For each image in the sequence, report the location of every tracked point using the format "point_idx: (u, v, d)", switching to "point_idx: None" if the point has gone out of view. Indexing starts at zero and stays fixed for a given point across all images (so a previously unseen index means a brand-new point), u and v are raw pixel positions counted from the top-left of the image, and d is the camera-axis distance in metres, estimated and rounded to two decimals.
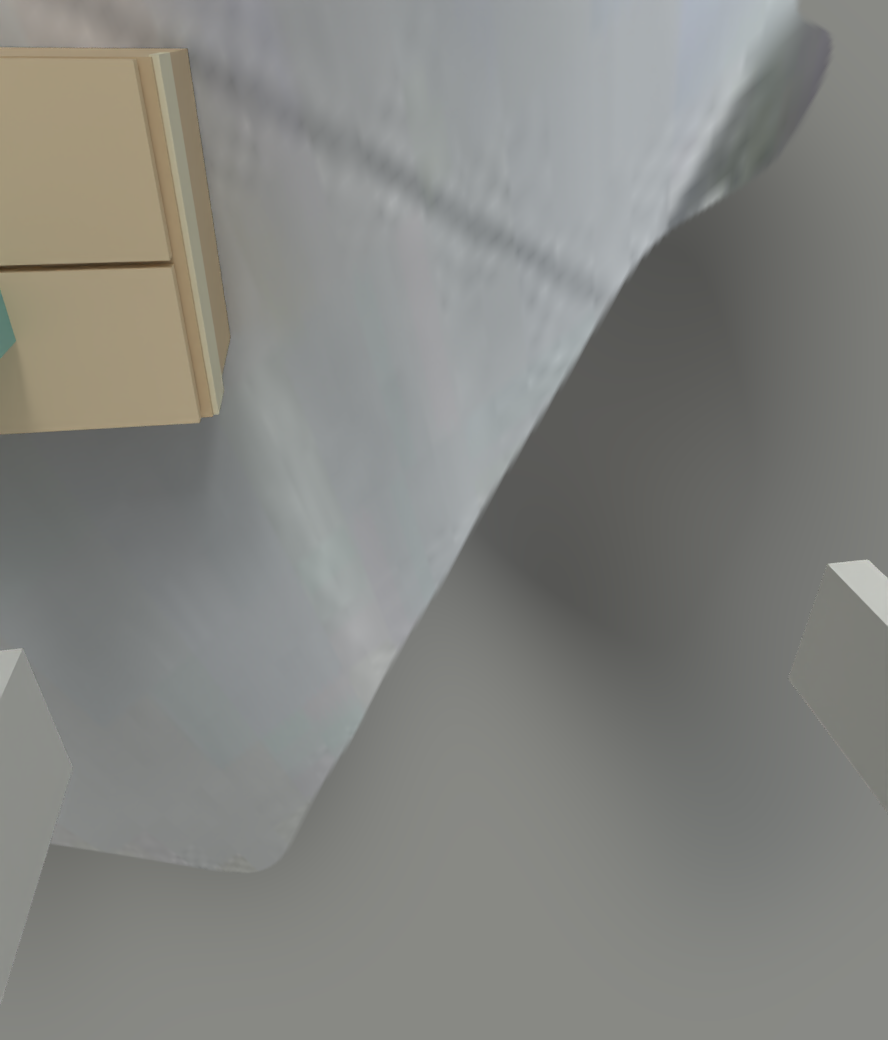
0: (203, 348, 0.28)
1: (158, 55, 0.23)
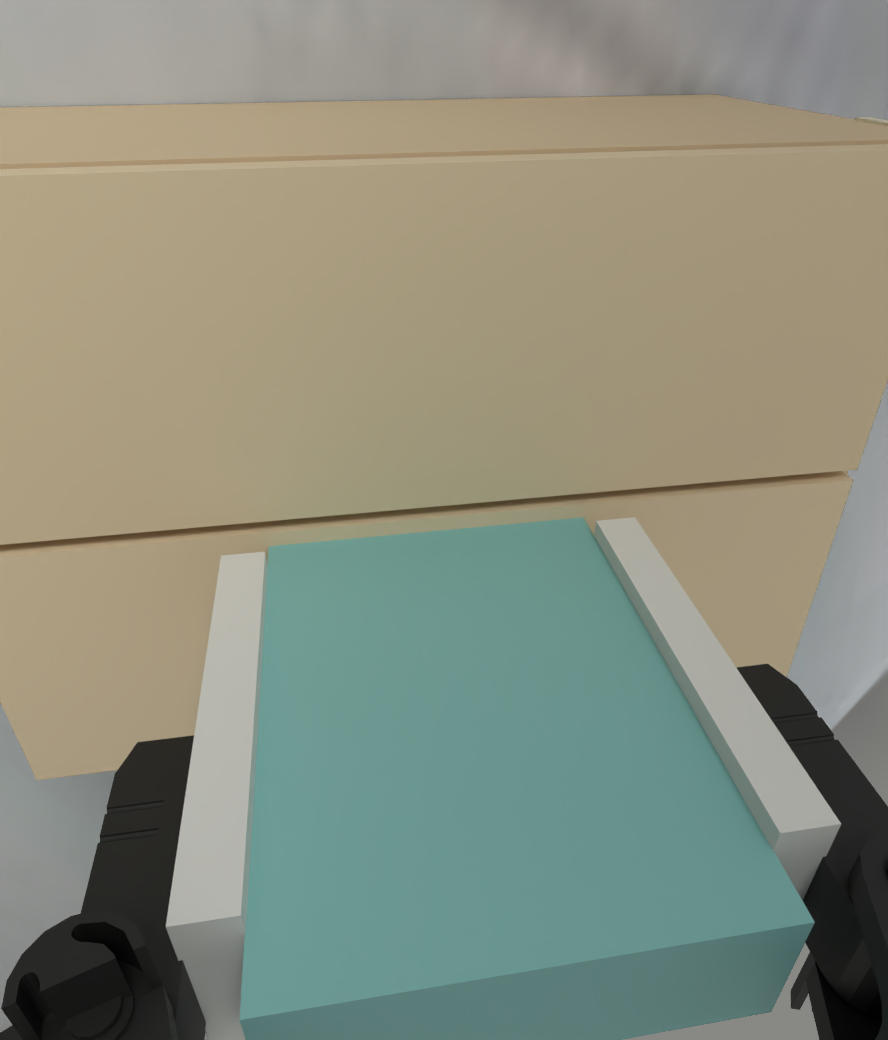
0: None
1: None
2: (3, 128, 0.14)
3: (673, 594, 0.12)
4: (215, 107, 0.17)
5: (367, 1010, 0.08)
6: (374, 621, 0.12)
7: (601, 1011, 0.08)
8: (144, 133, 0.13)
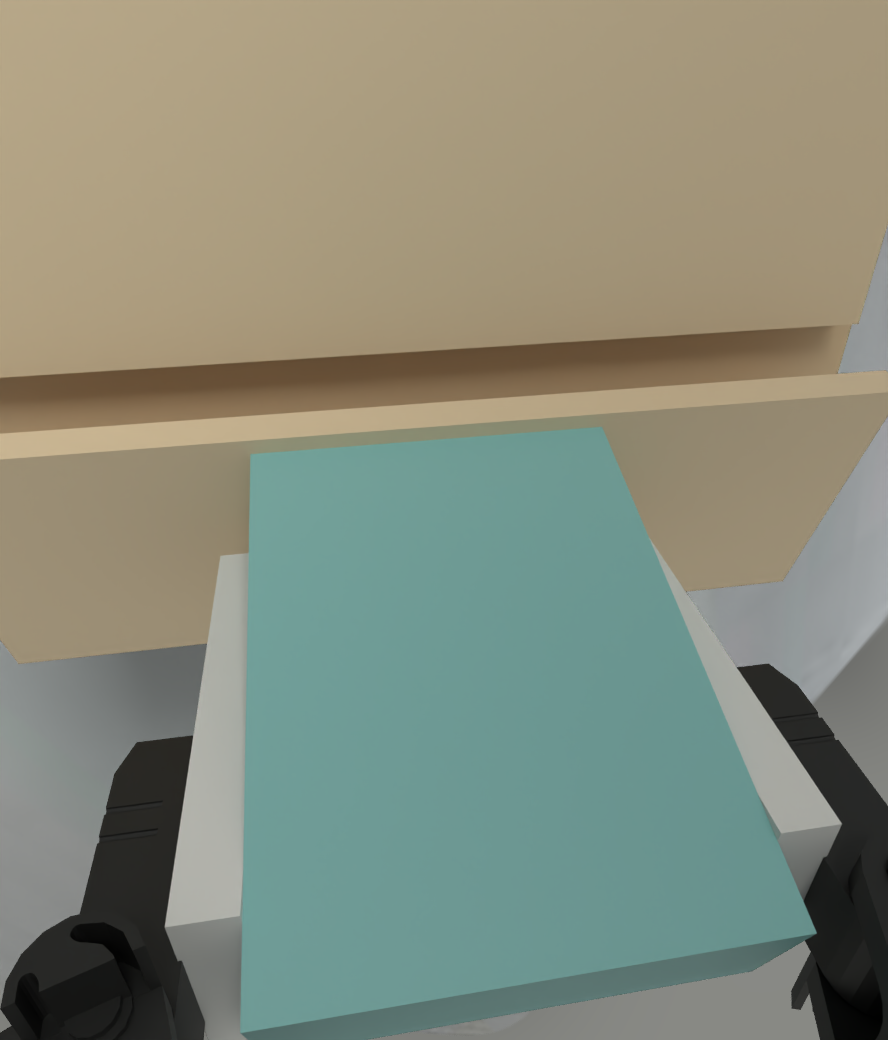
0: None
1: None
2: None
3: (674, 594, 0.12)
4: None
5: (368, 1014, 0.08)
6: (370, 558, 0.11)
7: (594, 989, 0.09)
8: None
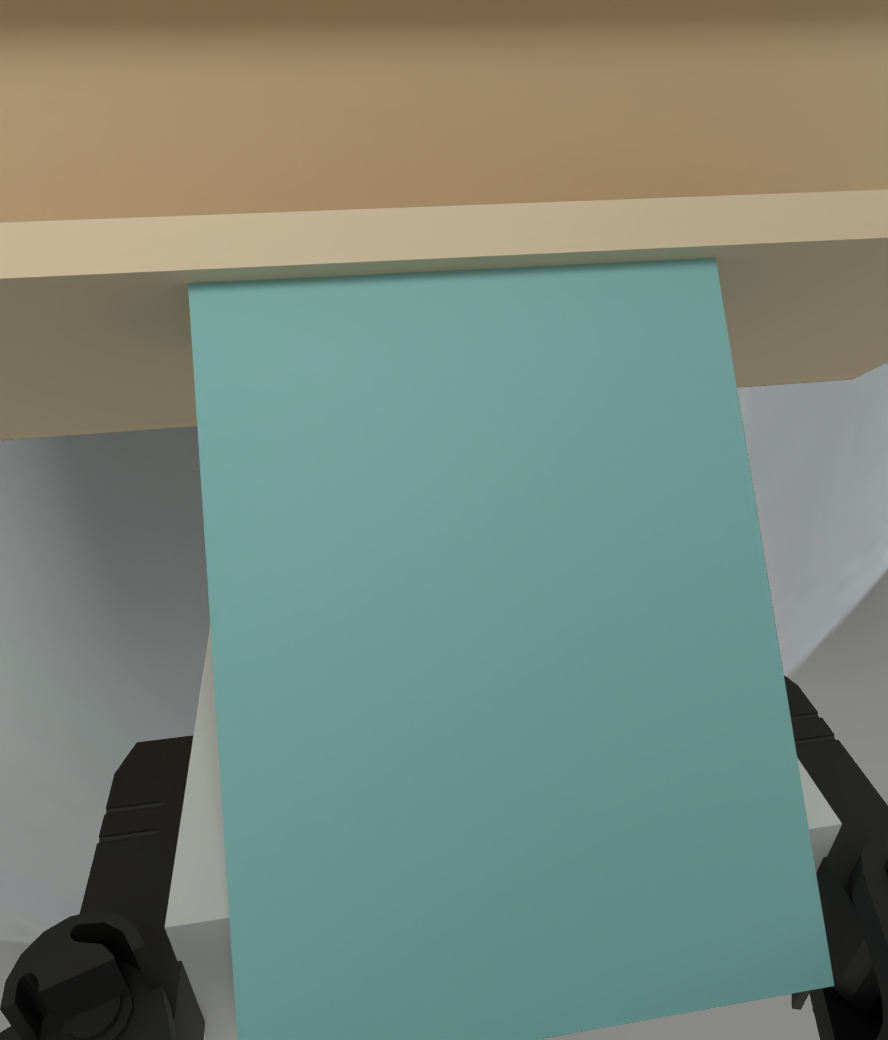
0: None
1: None
2: None
3: None
4: None
5: None
6: (372, 487, 0.08)
7: None
8: None
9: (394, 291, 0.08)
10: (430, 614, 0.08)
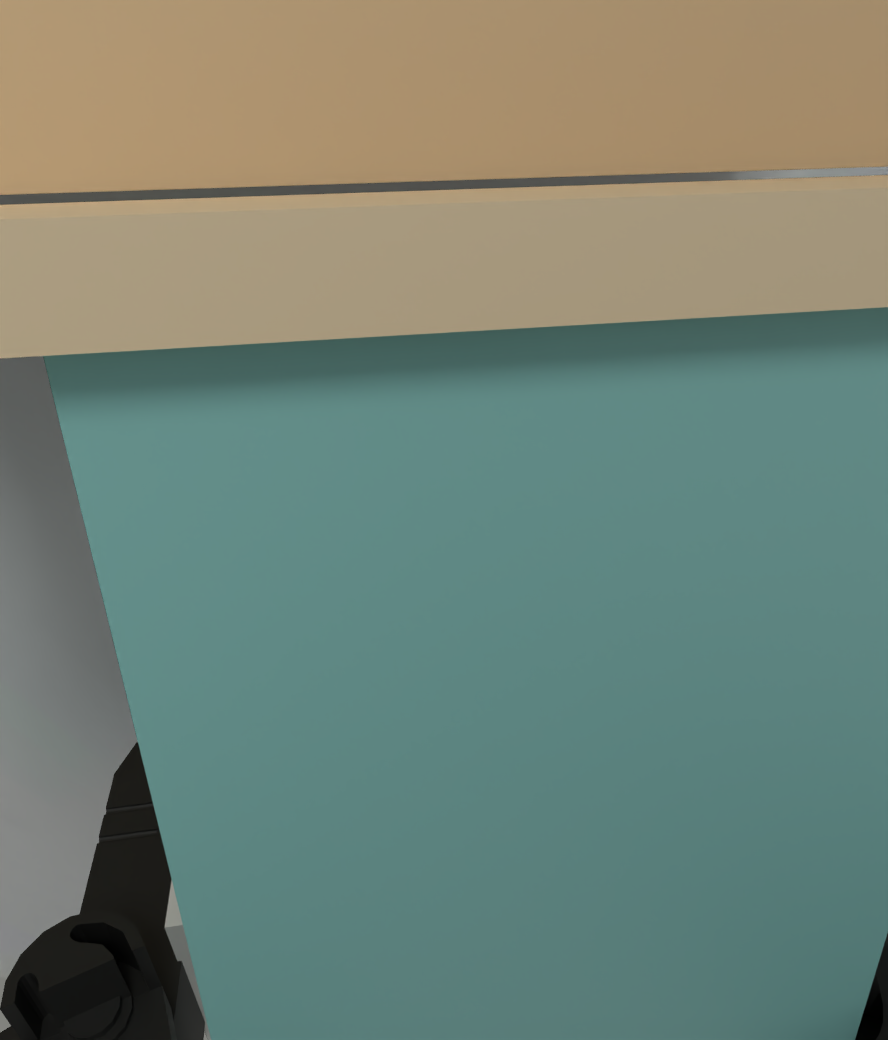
0: None
1: None
2: None
3: None
4: None
5: None
6: (407, 693, 0.05)
7: None
8: None
9: (468, 357, 0.04)
10: (480, 835, 0.06)
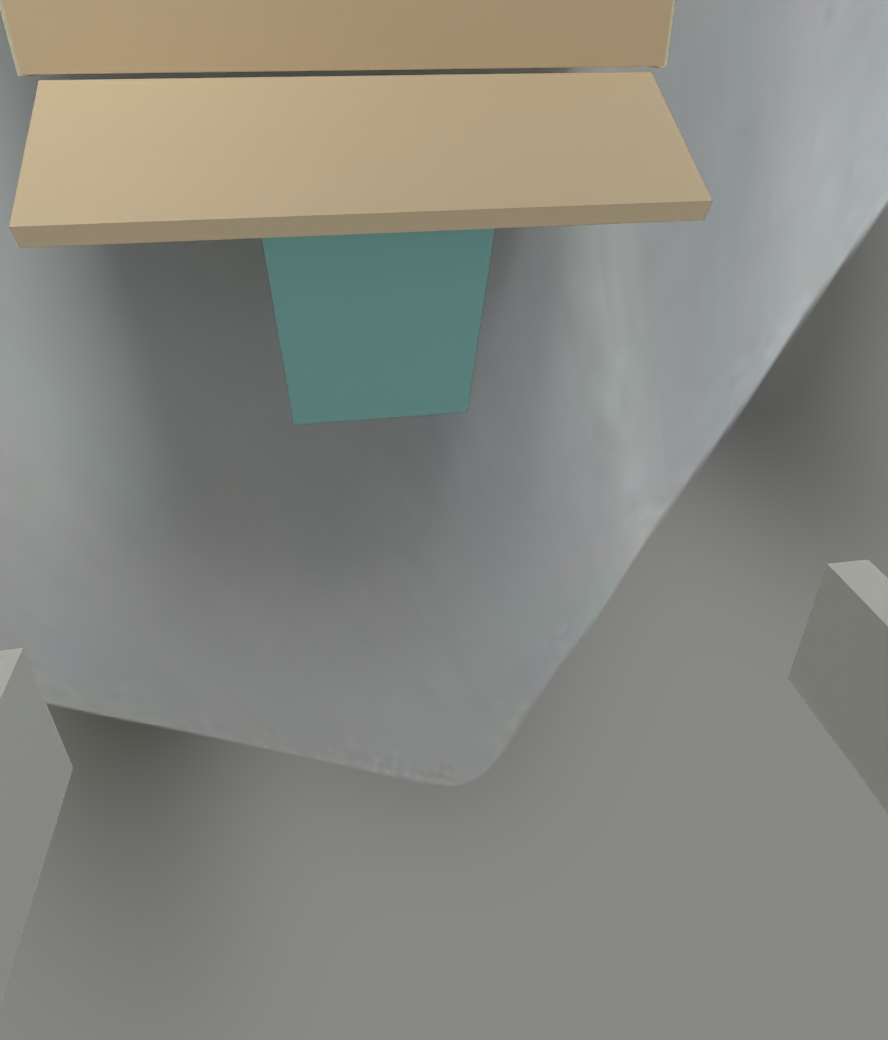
0: None
1: None
2: None
3: None
4: None
5: None
6: (336, 298, 0.21)
7: None
8: None
9: (349, 232, 0.19)
10: (355, 332, 0.22)
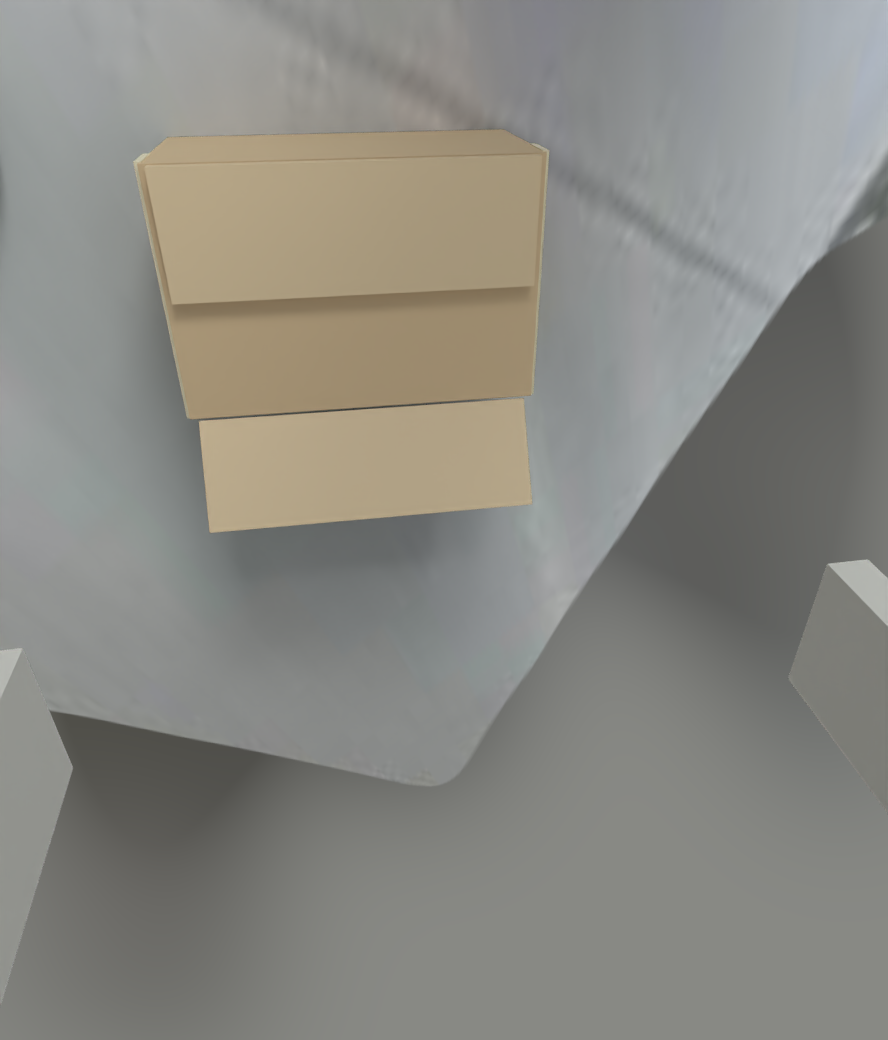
0: None
1: (548, 150, 0.35)
2: (192, 148, 0.36)
3: None
4: (270, 137, 0.39)
5: None
6: None
7: None
8: (249, 150, 0.35)
9: None
10: None
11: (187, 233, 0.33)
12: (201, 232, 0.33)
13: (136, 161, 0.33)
